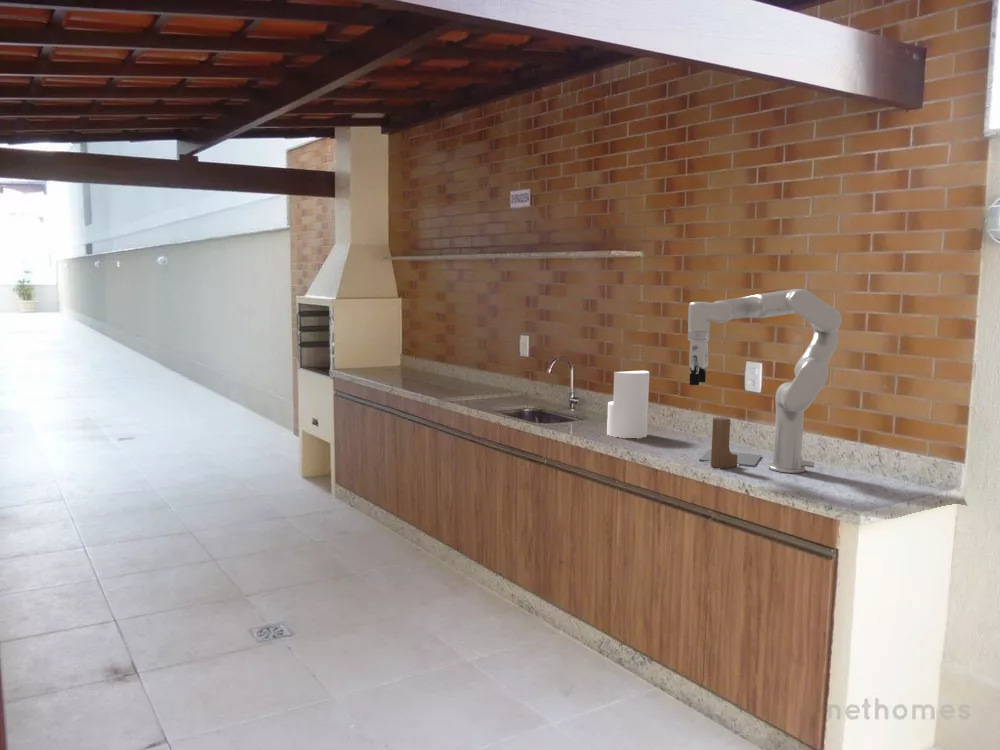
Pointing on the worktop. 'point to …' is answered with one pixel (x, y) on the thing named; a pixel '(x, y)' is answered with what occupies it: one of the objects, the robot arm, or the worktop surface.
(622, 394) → the stepped white pillar
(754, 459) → the mat
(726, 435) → the wooden block
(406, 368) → the worktop surface
